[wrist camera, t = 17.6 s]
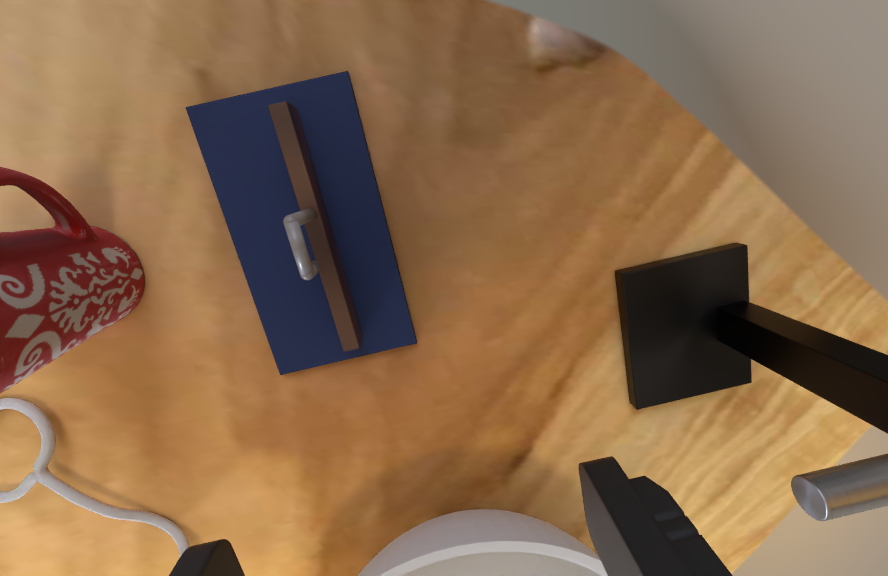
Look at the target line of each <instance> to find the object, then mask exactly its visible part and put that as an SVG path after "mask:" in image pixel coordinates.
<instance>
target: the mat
mask: <svg viewBox="0 0 888 576" xmlns="http://www.w3.org/2000/svg"><path fill="white" fill-rule="evenodd" d="M284 101H287V102H288V103H290V104H292V105H294V106H295V107H296V108H297V112H298V115H299V118H300V122H301V125H302V129H303V132H304V136H305V139H306V142H307V146H308V149H309V153H310V156H311V160H312V163H313V166H314V170H315V173H316V177H317V180H318V183H319V187H320V190H321V194H322V197H323V201H324V204H325V207H326V211H327V214H328V218H329V221H330V224H331V228H332V231H333V235H334V238H335V242H336V245H337V248H338V252H339V255H340V259H341V262H342V265H343V269H344V272H345V276H346V279H347V283H348V286H349V289H350V293H351V296H352V300H353V303H354V307H355V310H356V313H357V317H358V320H359V324H360V327H361V330H362V334H363V338H362V342H361V345H360V348H358V349H354V350H350V351H345V352H344V351H343V347H342V344H341V341H340V338H339V335H338V331H337V328H336V325H335V322H334V318H333V315H332V312H331V309H330V305H329V302H328V299H327V296H326V292H325V289H324V286H323V283H322V279H321V276H320V273H319V272H318V273H317V274H316V275H315V276H314V277H313V278H312V279H310V280H304V279H303V278H302V277H301V276H300V273H299V270H298V267H297V264H296V260H295V257H294V254H293V251H292V248H291V245H290V242H289V239H288V236H287V232H286V229H285V226H284V223H283V221H284V218H285V217H286V216H287V215H290V214H293V213H296V212H299V211H300V208H299V205H298V202H297V198H296V195H295V192H294V189H293V185H292V182H291V179H290V176H289V173H288V169H287V166H286V163H285V160H284V156H283V153H282V150H281V147H280V143H279V140H278V137H277V134H276V130H275V127H274V124H273V121H272V117H271V114H270V111H269V108H268V105H271V104H275V103H280V102H284ZM186 110H187V113H188V115H189V118H190V121H191V124H192V127H193V130H194V132H195V135H196V138H197V141H198V144H199V147H200V149H201V152H202V155H203V158H204V161H205V163H206V166H207V169H208V172H209V175H210V178H211V180H212V183H213V186H214V189H215V192H216V195H217V197H218V200H219V203H220V206H221V209H222V212H223V214H224V217H225V220H226V223H227V226H228V229H229V231H230V234H231V237H232V240H233V243H234V246H235V248H236V251H237V254H238V257H239V260H240V262H241V265H242V268H243V271H244V274H245V277H246V279H247V282H248V285H249V288H250V291H251V294H252V296H253V299H254V302H255V305H256V308H257V311H258V313H259V316H260V319H261V322H262V325H263V328H264V330H265V333H266V336H267V339H268V342H269V345H270V347H271V350H272V353H273V356H274V359H275V361H276V364H277V367H278V370H279V373H280V375H282V374H287V373H291V372H295V371H299V370H304V369H308V368H312V367H317V366H321V365H325V364H330V363H334V362H338V361H342V360H347V359H351V358H355V357H360V356H364V355H368V354H372V353H377V352H381V351H385V350H390V349H394V348H398V347H403V346H407V345H411V344H415V343H417V340H416V336H415V332H414V328H413V324H412V320H411V316H410V312H409V309H408V305H407V301H406V297H405V293H404V289H403V285H402V281H401V277H400V273H399V269H398V265H397V261H396V257H395V253H394V249H393V246H392V242H391V238H390V234H389V230H388V226H387V222H386V218H385V214H384V210H383V206H382V202H381V198H380V194H379V190H378V186H377V183H376V179H375V175H374V171H373V167H372V163H371V159H370V155H369V151H368V147H367V143H366V139H365V135H364V131H363V127H362V124H361V120H360V116H359V112H358V108H357V104H356V100H355V96H354V92H353V88H352V84H351V80H350V76H349V73H348V71H346V72H341V73H337V74H332V75H328V76H323V77H319V78H315V79H310V80H306V81H301V82H297V83H292V84H288V85H283V86H279V87H274V88H270V89H265V90H261V91H257V92H252V93H248V94H243V95H239V96H234V97H230V98H225V99H221V100H216V101H212V102H208V103H203V104H199V105H194V106H190V107H186ZM300 227H301V230H302V234H303V237H304V240H305V243H306V246H307V250H308V253H309V256H310V259H311V261H312V260H315V257H314V254H313V250H312V247H311V244H310V241H309V237H308V234H307V231H306V228H305V224H303V225H301V226H300Z"/></svg>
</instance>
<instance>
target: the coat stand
mask: <svg viewBox="0 0 888 576" xmlns="http://www.w3.org/2000/svg"><path fill="white" fill-rule="evenodd" d="M615 276H616V285H617V294H618V302H619V311H620V320H621V328H622V337H623V345H624V354H625V363H626V371H627V380H628V389H629V397H630V403H631V404H632V405H633V406H634V407H635V408H636V409H637V410H638V409H642V408H646V407H650V406H654V405H659V404H663V403H667V402H671V401H676V400H680V399H684V398H688V397H693V396H697V395H701V394H705V393H710V392H714V391H718V390H722V389H726V388H731V387H735V386H739V385H743V384H748V383H751V359H752V360H754V361H756V362H758V363H760V364H761V365H763V366H765V367H767V368H769V369H771V370H772V371H774V372H776V373H778V374H780V375H782V376H783V377H785V378H787V379H789V380H791V381H793V382H794V383H796V384H798V385H800V386H802V387H803V388H805V389H807V390H809V391H811V392H813V393H814V394H816V395H818V396H820V397H822V398H824V399H825V400H827V401H829V402H831V403H833V404H835V405H836V406H838V407H840V408H842V409H844V410H846V411H847V412H849V413H851V414H853V415H855V416H857V417H858V418H860V419H862V420H864V421H866V422H867V423H869V424H871V425H873V426H875V427H877V428H879V429H880V430H882V431H884V432H886V433H888V355H886V354H883V353H881V352H878V351H875V350H873V349H870V348H868V347H865V346H862V345H860V344H857V343H854V342H852V341H849V340H847V339H844V338H841V337H839V336H836V335H834V334H831V333H828V332H826V331H823V330H820V329H818V328H815V327H813V326H810V325H807V324H805V323H802V322H800V321H797V320H794V319H792V318H789V317H786V316H784V315H781V314H779V313H776V312H773V311H771V310H768V309H766V308H763V307H760V306H758V305H755V304H752V303H750V302H749V285H748V252H747V245H744V244H740V243H733V244H729V245H725V246H720V247H716V248H712V249H707V250H703V251H699V252H694V253H690V254H686V255H682V256H677V257H673V258H669V259H664V260H660V261H656V262H651V263H647V264H643V265H638V266H634V267H630V268H625V269H621V270H617V271H615ZM791 487H792V491H793V494H794V496H795V498H796V500H797V502H798V503H799V505H800V506H801V507H802V508H803V509H804V511H805V512H806V513H807V514H808V515H810V516H811V517H812V518H814V519H816V520H819V521H826V520H829V519H834V518H838V517H842V516H847V515H851V514H855V513H859V512H863V511H867V510H872V509H875V508H880V507H884V506H888V454H884V455H880V456H876V457H871V458H868V459H863V460H859V461H855V462H851V463H847V464H842V465H838V466H834V467H830V468H825V469H821V470H817V471H813V472H809V473H805V474H800V475H796V476H794V477H793V478H792V481H791Z"/></svg>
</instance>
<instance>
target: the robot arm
mask: <svg viewBox="0 0 888 576" xmlns="http://www.w3.org/2000/svg"><path fill="white" fill-rule="evenodd" d="M579 475H580V482H581V489H582V496H583V503H584V510H585V516H586V522H587V526H588V529H589V533H590V536H591V539H592V542H593V544H594V547H595V549H596V551H597V554H598V556H599V558H600V560H601V562H602V564H603V566H604V569H605V571H606V573H607V575H608V576H732V574H731V573H730V572H729V571H728V569H727V568H726V567H725V565H724V564H723V563H722V561H721V560H720V559H719V558H718V556H717V555H716V554H715V552H714V551H713V550H712V548H711V547H710V546H709V544H708V543H707V542H706V541H705V539H704V538H703V537H702V535H699V533H698V531H697V529H696V528H695V526H694V525H693V524H692V522H691V521H690V520H689V518H688V517H687V516H685V515H684V512H683V511H682V509H681V508H680V507H679V505H678V504H677V503H676V501H675V500H674V499H673V498H672V496H671V495H670V494H669V492H668V491H667V490H665V489H664V488H662V487H661V486H659V485H658V484H656V483H655V482H653V481H652V480H650V479H649V478H647V477H646V476H642V477H637V478H633V479H628V477H627V476H626V474H625V473H624V471H623V470H622V468H621V467H620V465H619V464H618V462H617V461H616V459H615V458H614V457H606V458H602V459H597V460H592V461H588V462H583V463H580V464H579ZM169 576H245V575H244V572H243V570H242V568H241V566H240V563H239V561H238V559H237V557H236V554H235V552H234V550H233V547H232V545H231V543H230V542H229V541H228V540H226V539H222V540H217V541H213V542H208V543H203V544H199V545H194V546H191V547H188V548H187V549H186V550H185V551H184V552H183V554H182V555H181V557H180V558H179V560H178V562H177V563H176V565H175V567H174V568H173V570H172V572H171V573H170V575H169Z"/></svg>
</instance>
